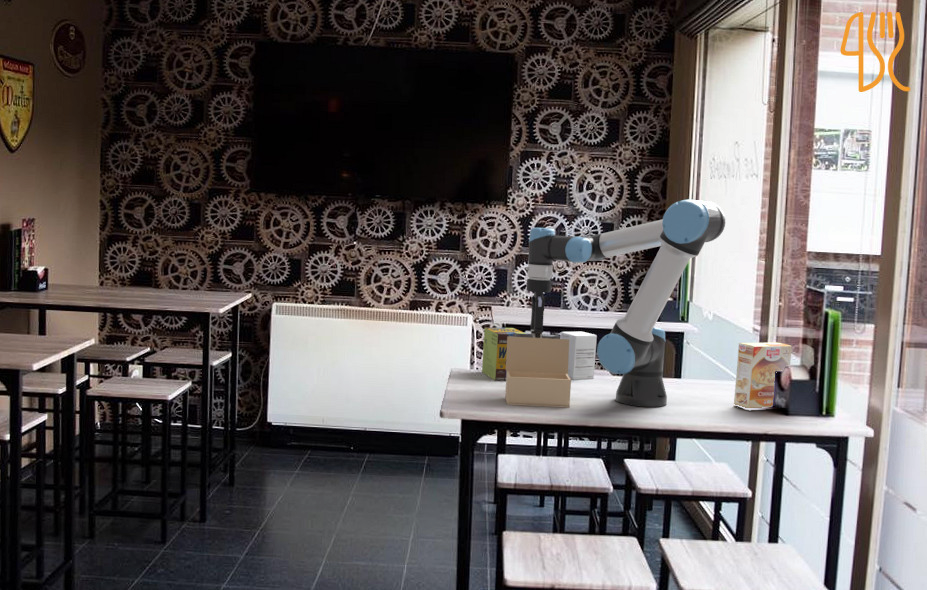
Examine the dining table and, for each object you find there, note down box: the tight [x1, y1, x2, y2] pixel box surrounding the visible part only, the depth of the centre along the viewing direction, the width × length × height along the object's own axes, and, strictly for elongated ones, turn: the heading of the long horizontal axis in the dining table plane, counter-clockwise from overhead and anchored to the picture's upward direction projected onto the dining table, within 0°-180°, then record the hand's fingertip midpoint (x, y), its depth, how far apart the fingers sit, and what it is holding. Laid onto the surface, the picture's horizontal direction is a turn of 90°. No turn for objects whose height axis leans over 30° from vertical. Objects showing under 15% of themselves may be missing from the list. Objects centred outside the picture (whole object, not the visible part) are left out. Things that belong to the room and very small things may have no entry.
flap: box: [506, 333, 569, 374], centre depth 296 cm, size 18×12×9 cm
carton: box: [504, 371, 572, 408], centre depth 286 cm, size 18×10×8 cm, turn 90°
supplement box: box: [560, 331, 598, 380], centre depth 332 cm, size 9×9×15 cm
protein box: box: [481, 326, 527, 382], centre depth 326 cm, size 10×15×16 cm
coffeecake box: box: [733, 341, 793, 408], centre depth 294 cm, size 15×7×20 cm, turn 115°
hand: (535, 352), depth 300 cm, fingers open, 8 cm apart
